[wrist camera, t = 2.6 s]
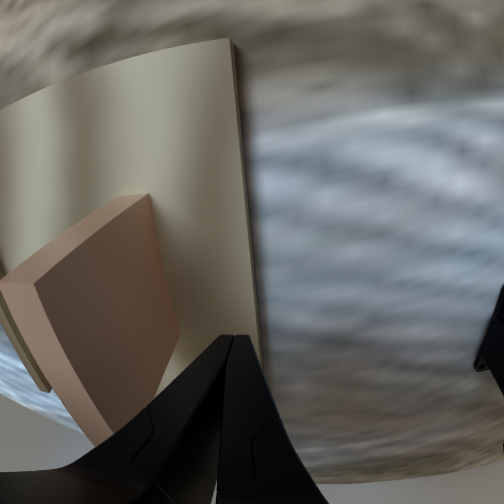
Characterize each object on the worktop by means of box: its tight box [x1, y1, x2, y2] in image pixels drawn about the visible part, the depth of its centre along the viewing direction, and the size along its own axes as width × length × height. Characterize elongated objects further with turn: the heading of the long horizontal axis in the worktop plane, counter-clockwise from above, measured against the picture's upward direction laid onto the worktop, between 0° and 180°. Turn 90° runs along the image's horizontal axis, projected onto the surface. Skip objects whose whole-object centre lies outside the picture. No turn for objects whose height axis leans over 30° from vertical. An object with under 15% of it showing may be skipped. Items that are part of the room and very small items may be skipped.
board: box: [0, 38, 264, 398], centre depth 14 cm, size 16×18×2 cm
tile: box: [0, 193, 180, 447], centre depth 10 cm, size 2×7×7 cm, turn 5°
